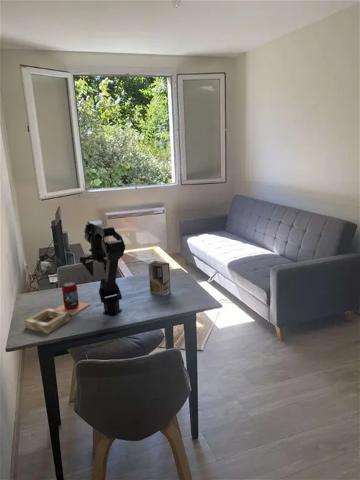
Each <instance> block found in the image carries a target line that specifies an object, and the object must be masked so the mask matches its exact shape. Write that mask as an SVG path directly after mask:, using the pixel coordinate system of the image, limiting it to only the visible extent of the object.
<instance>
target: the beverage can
mask: <svg viewBox="0 0 360 480" xmlns="http://www.w3.org/2000/svg"><path fill="white" fill-rule="evenodd" d="M61 290H62V291H61V292H62V299H63V304H64V307H65V308H66V309H75V308H76V307H78V306H79V302H80V301H79V294H78V286H77V284H76V282H74V281H67V282H64V283H63V284H62V287H61Z"/></svg>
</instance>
